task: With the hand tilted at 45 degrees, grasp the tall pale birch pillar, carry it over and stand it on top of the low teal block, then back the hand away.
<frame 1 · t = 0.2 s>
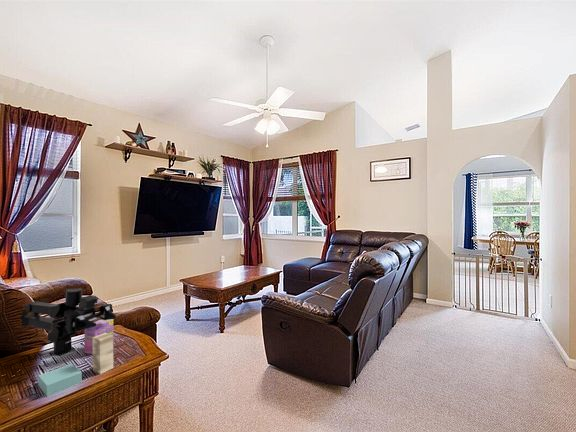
hand: (106, 320, 121), 17 cm above the table, tool horizontal, fingers open, 9 cm apart
base block: (60, 384, 105), on the table
box: (99, 348, 132), on the table
pillar: (103, 369, 115), on the table
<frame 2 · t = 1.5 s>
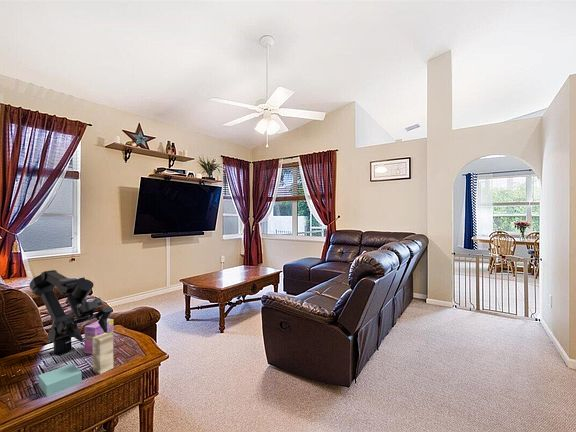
hand: (94, 336, 117), 12 cm above the table, tool tilted 45°, fingers open, 9 cm apart
nothing on the table moved.
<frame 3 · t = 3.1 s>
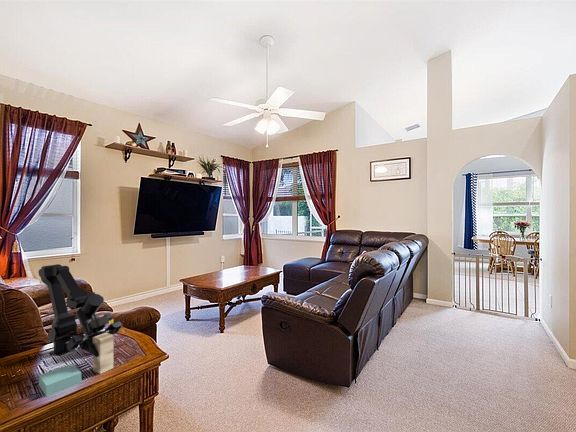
hand: (105, 353, 114), 7 cm above the table, tool tilted 45°, fingers closed on pillar, 5 cm apart
pillar: (103, 369, 115), on the table, touching gripper
everything else where it was.
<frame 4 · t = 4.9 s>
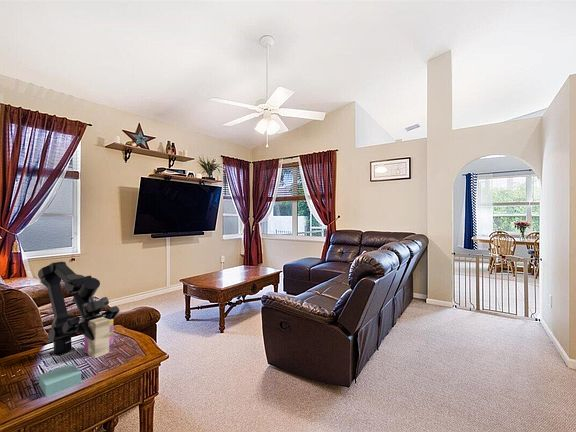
hand: (100, 337, 112), 13 cm above the table, tool tilted 45°, fingers closed on pillar, 5 cm apart
pillar: (98, 353, 113), point 7 cm above the table, touching gripper
everything else where it was.
when the fingers open (11 cm above the table, at t = 6.6 s): pillar drops 1 cm, point 4 cm above the table.
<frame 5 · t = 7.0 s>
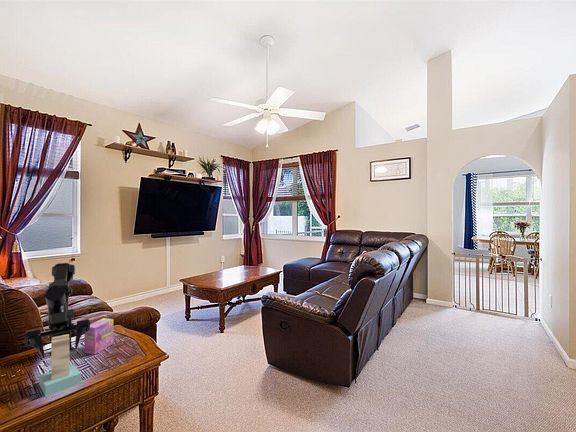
hand: (60, 353, 103), 12 cm above the table, tool tilted 45°, fingers open, 9 cm apart
pillar: (60, 374, 105), point 4 cm above the table
everything else where it was.
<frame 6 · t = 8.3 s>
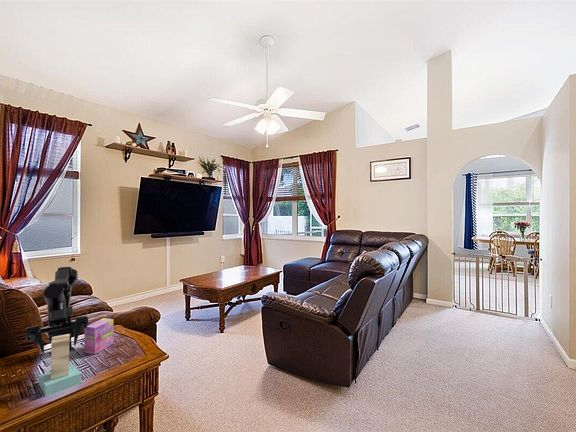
hand: (59, 349, 107), 11 cm above the table, tool tilted 45°, fingers open, 9 cm apart
nothing on the table moved.
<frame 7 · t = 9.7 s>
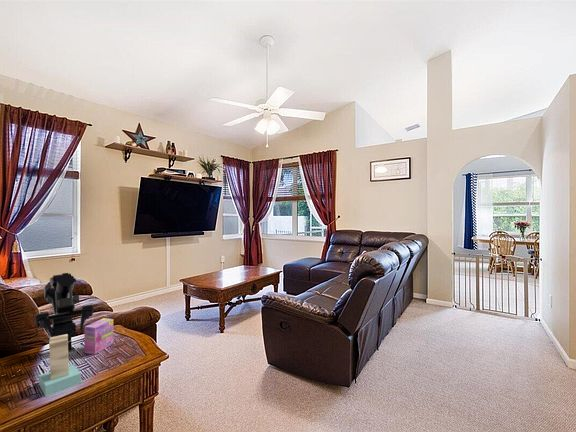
hand: (67, 334, 115), 14 cm above the table, tool tilted 45°, fingers open, 9 cm apart
base block: (60, 385, 105), on the table, touching pillar
pillar: (59, 373, 105), point 4 cm above the table, touching base block
everything else where it was.
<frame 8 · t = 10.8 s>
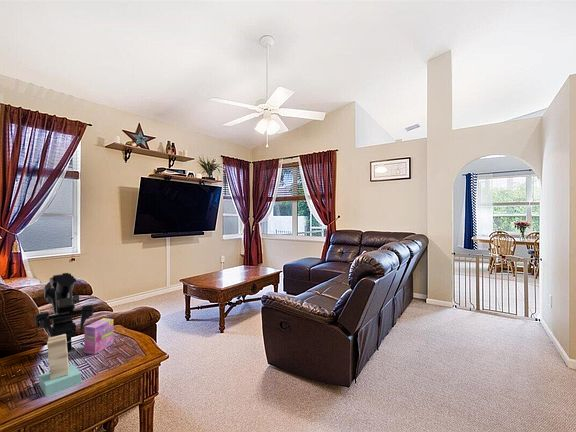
hand: (67, 334, 115), 14 cm above the table, tool tilted 45°, fingers open, 9 cm apart
nothing on the table moved.
at the end: pillar 0.1 cm from the base block (horizontally); pillar point 3.7 cm above the table; pillar tilted 3° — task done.
